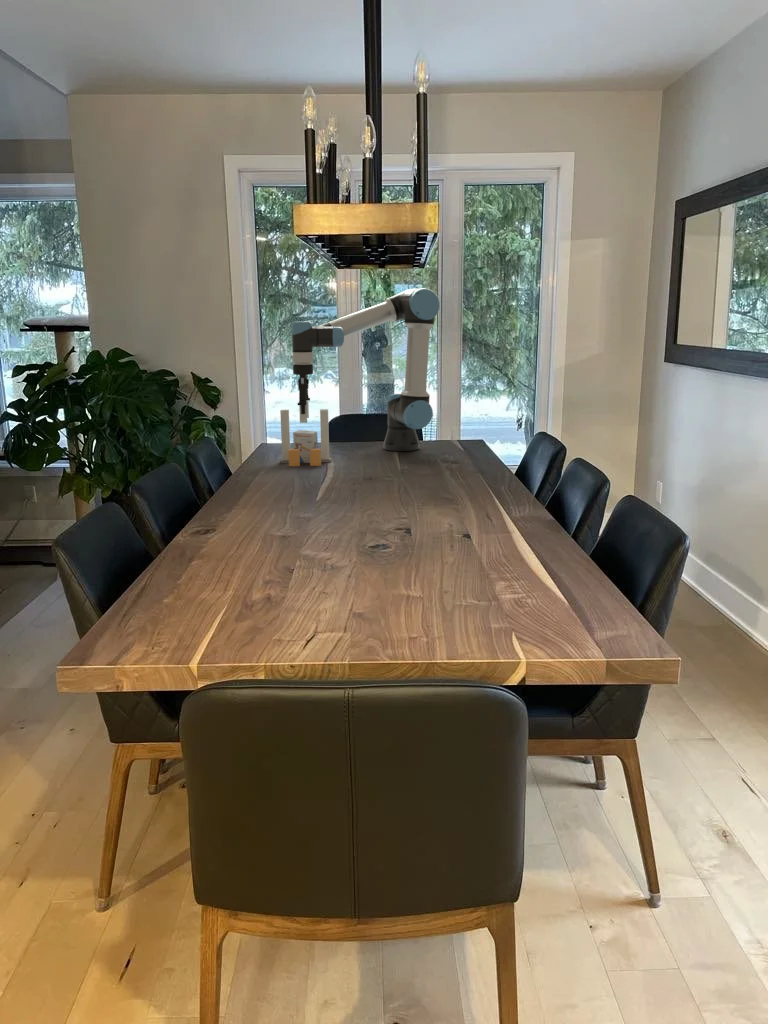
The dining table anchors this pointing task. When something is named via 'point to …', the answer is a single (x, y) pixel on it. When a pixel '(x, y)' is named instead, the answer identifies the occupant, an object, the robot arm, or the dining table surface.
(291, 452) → the paddle
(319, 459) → the paddle
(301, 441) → the ink box
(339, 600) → the dining table surface
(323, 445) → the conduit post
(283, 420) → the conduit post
